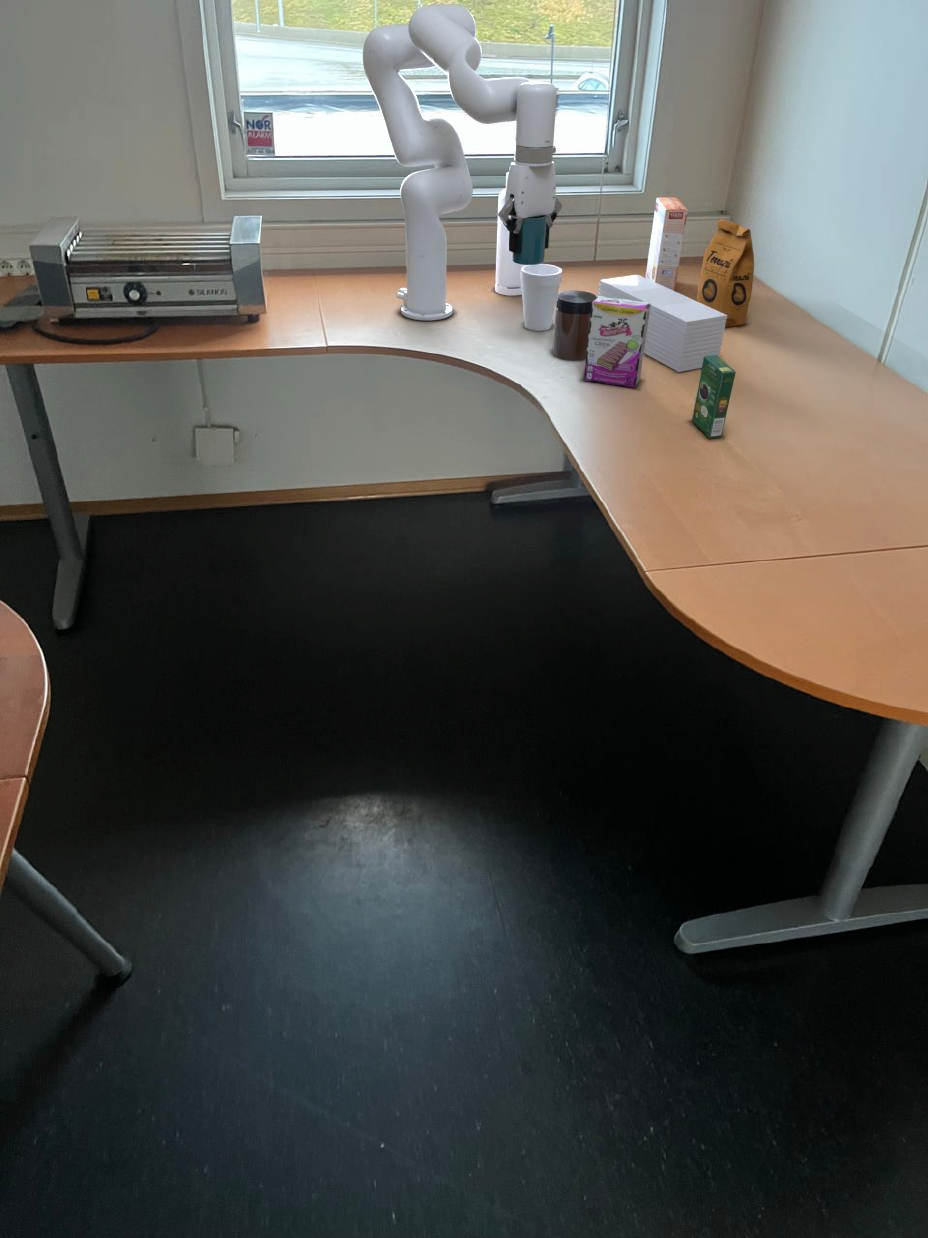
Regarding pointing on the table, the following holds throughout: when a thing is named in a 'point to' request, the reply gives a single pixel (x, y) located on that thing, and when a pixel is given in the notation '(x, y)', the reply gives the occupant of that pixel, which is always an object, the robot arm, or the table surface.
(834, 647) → the table surface
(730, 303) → the coffee package
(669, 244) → the cracker box
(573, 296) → the jar lid
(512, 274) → the bottle
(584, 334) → the jar
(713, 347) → the stack of papers
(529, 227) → the cup
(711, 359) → the coffee box
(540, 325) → the foam cup
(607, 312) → the candy bar box
